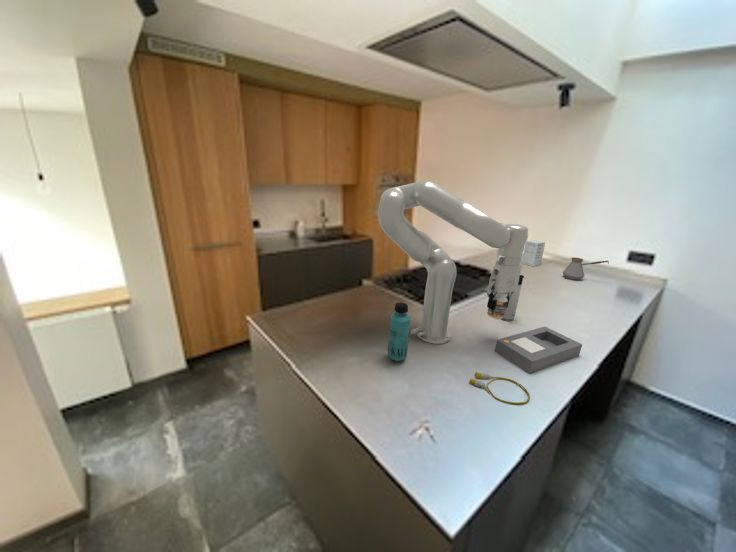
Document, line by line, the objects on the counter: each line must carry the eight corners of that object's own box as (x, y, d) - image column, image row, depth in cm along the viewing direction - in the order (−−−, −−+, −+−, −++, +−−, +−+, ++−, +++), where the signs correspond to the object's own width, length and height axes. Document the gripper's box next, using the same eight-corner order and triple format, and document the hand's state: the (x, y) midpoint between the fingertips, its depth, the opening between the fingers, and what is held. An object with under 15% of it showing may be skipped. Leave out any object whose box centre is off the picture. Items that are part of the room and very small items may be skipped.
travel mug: (516, 322, 130) (526, 278, 123) (500, 320, 131) (509, 276, 125) (512, 316, 136) (522, 273, 129) (497, 314, 137) (505, 272, 130)
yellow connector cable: (487, 368, 99) (488, 363, 98) (536, 396, 87) (538, 390, 86) (464, 382, 92) (465, 376, 91) (514, 414, 80) (516, 408, 79)
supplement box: (540, 265, 217) (546, 242, 212) (533, 266, 213) (538, 243, 207) (528, 261, 225) (533, 239, 220) (520, 263, 221) (525, 240, 215)
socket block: (529, 373, 96) (532, 360, 95) (494, 350, 108) (496, 338, 106) (578, 355, 107) (582, 343, 106) (542, 336, 119) (545, 325, 117)
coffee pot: (559, 278, 191) (565, 254, 186) (564, 274, 199) (569, 252, 194) (600, 287, 177) (608, 262, 172) (603, 283, 185) (611, 259, 180)
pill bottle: (493, 320, 109) (499, 294, 106) (483, 312, 114) (489, 288, 111) (506, 319, 111) (513, 294, 107) (496, 312, 116) (502, 288, 113)
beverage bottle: (394, 351, 105) (398, 298, 99) (410, 359, 101) (416, 304, 95) (383, 359, 100) (386, 304, 94) (399, 367, 96) (404, 310, 90)
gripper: (499, 265, 99) (487, 315, 104) (534, 262, 106) (521, 309, 112) (482, 258, 105) (472, 306, 111) (516, 256, 112) (505, 301, 118)
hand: (497, 307), depth 111 cm, fingers closed on pill bottle, 5 cm apart
